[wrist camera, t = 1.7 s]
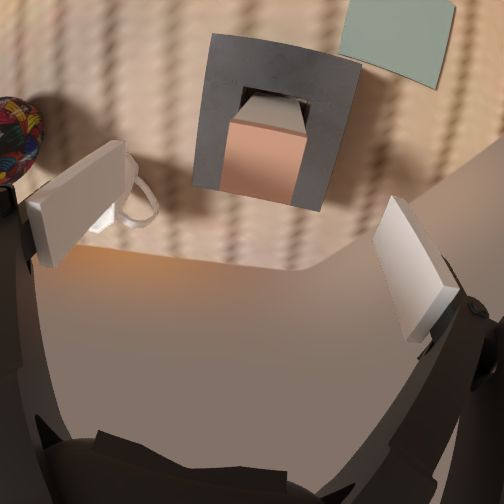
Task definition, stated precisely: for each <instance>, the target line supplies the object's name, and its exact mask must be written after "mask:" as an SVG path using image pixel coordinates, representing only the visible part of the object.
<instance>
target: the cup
mask: <svg viewBox="0 0 504 504" xmlns="http://www.w3.org/2000/svg"><path fill="white" fill-rule="evenodd" d="M138 168H139V165H138V164H137V163H136V161H135V160H134V158H133V157H132V156H131V154H130V153H125V192H124V193H123V194H122V195H121V196H120V197H119V198H118V199H117V200H116V201H115V202H114V203H113V204H112V205H111V206H110V207H109V208H108V209H107V210H106V211H105V212H104V213H103V214H102V216H101V217H100V218H99V219H98V220H97V221H96V222H95V223H94V224H93V225H92V226H91V227H90V229H89V230H88V231H91V232H94V233H99V232H101V231H102V230H104V229H105V228H106V227H108V226H109V225H111V224H112V223H114V222H115V220H116V219H117V220H119V221H120V222H121V223H123V224H125V225H127V226H129V227H132V228H144V227H145V226H147V225H149V224H150V223H151V222H152V221H153V220H154V219H155V218H156V216H157V215H158V213H159V204H158V201H157V199H156V197H155V196H154V194H153V193H152V191H151V189H150V188H149V186H148V185H147V184H146V183H145V182H144V180H143V179H141V178H140V177H138ZM134 183H136V184H137V185H139V187H140V188H141V189H142V190H143V191H144V193H145V194H146V196H147V198H148V199H149V201H150V203H151V205H152V207H153V210H154V214H153V216H151V217H150V218H148V219H146V220H134V219H131V218H130V217H129V216H128V215H127V214H125V213H124V212H123V211H122V210H121V209H122V207H123V205H124V204H125V202H126V200H127V198H128V197H129V195H130V192H131V190H132V187H133V185H134Z"/></svg>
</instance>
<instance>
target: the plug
mask: <svg viewBox="0 0 504 504" xmlns="http://www.w3.org/2000/svg"><path fill="white" fill-rule="evenodd" d="M306 142H307V134H306V130H305V125H304V121H303V117H302V113H301V109H300V104H299V101H298V100H294V99H289V98H285V97H280V96H275V95H270V94H265V93H260V92H255V93H254V95H253V96H252V97H251V98H250V99H249V100H248V101H247V103H246V104H245V105H244V106H243V107H242V108H241V109H240V111H239V112H238V113H237V114H236V115H235V117H234V118H233V119H232V120H231V121H230V124H229V130H228V136H227V143H226V149H225V156H224V162H223V169H222V176H221V183H220V190H219V191H223V192H228V193H233V194H238V195H243V196H248V197H253V198H258V199H263V200H267V201H272V202H277V203H282V204H286V205H290V203H291V199H292V195H293V192H294V188H295V184H296V180H297V176H298V173H299V169H300V165H301V161H302V157H303V153H304V149H305V145H306Z"/></svg>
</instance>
